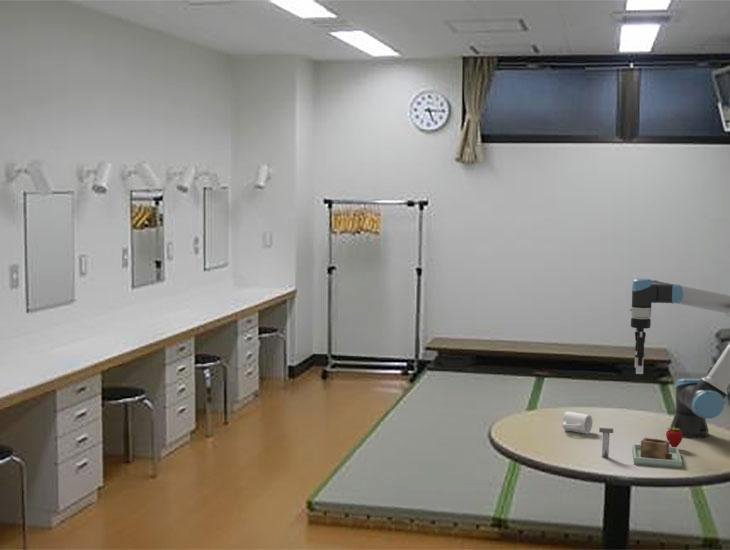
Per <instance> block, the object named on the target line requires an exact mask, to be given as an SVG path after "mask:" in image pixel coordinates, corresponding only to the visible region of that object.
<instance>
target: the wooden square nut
mask: <svg viewBox="0 0 730 550" xmlns="http://www.w3.org/2000/svg"><path fill="white" fill-rule="evenodd" d="M640 445H641V455H640V457H646V458H652V459H664V460H666V459H669V460H671V459H672V454H669V447H670V441H668V440H667V439H666V440H665V439H658V438H652V437H644V438H643V439H642V440H640Z"/></svg>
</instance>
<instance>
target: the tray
mask: <svg viewBox="0 0 730 550" xmlns="http://www.w3.org/2000/svg"><path fill="white" fill-rule="evenodd" d="M631 447H632V449H631V450H632V451H631V452H632V458H633V459H632V460H633V465H637V466H647V467H649V466H650V467H661V468H663V467H664V468H675V469H676V468H677V469H682V468H683V467H682V466H683V460H682V457H681V454H680V450H679V448H678V446H677V447H672V446H669V454H672V459H671V460H669V459H666V460H664V459H652V458H646V457H640V455H641V444H638V443H637V444H636V443H632V445H631Z"/></svg>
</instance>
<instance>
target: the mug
mask: <svg viewBox="0 0 730 550" xmlns="http://www.w3.org/2000/svg"><path fill="white" fill-rule="evenodd" d="M593 421H594V420H593V418H592V415H591V414H586V413H582V412H581V413H580V412H574V411H565V412H564V414H563V417H562V421H561V424H562V428H563V430H564V431H568V432H573V433H576V434H577V433H578V434H583V435H588V434H590V433H591V431H592V429H593Z"/></svg>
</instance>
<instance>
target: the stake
mask: <svg viewBox="0 0 730 550" xmlns="http://www.w3.org/2000/svg"><path fill="white" fill-rule="evenodd" d="M598 429H599V431H598V432H599V433H602V444H601V445H602V449H601V458H604V459H608V458H609V457H610V455H609V454H610V434H614V428H609V427H599V428H598Z"/></svg>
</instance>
